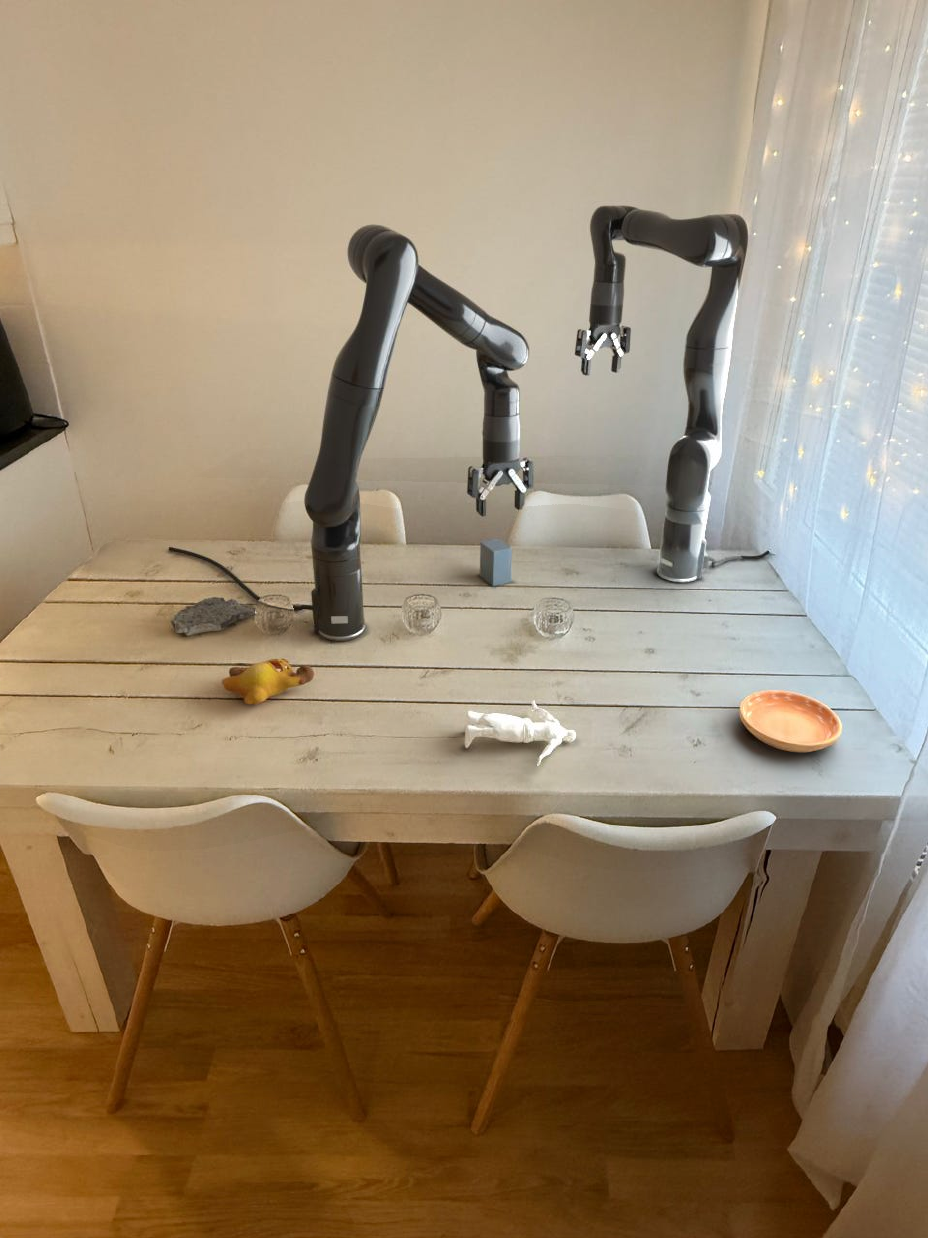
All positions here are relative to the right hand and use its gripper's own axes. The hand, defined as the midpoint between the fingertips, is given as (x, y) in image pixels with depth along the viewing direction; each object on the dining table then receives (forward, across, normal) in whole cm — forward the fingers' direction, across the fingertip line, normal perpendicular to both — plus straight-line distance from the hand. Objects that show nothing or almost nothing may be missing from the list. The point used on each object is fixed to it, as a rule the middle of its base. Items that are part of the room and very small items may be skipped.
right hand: (600, 373), depth 197 cm
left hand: (+20, -41, -25) cm, 52 cm away
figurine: (+40, -64, -72) cm, 104 cm away
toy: (+40, -96, -40) cm, 111 cm away
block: (+40, -37, -17) cm, 57 cm away
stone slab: (+40, -100, -9) cm, 108 cm away
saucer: (+40, -22, -90) cm, 101 cm away
